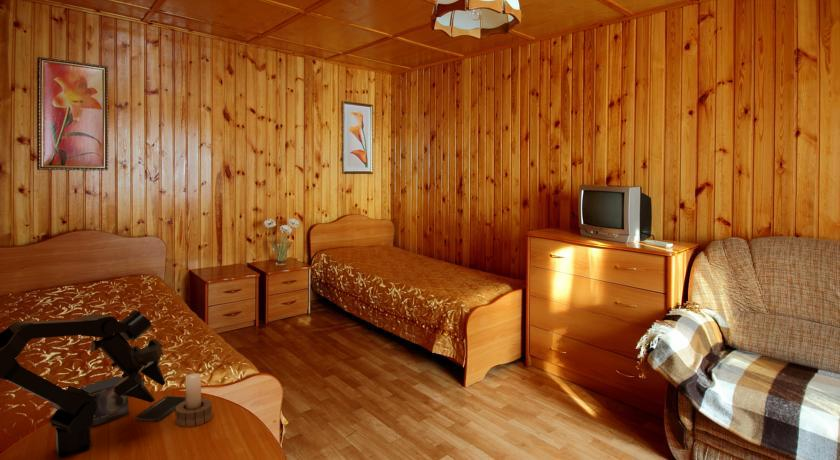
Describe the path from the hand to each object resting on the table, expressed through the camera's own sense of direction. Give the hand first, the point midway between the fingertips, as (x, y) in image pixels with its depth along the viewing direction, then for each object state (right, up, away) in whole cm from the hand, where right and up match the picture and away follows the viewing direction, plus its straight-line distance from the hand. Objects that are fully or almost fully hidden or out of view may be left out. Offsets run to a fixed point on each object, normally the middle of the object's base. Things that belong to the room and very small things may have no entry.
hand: (158, 392), depth 139 cm
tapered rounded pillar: (+8, -9, +4) cm, 13 cm away
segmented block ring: (+8, -9, +5) cm, 13 cm away
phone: (-4, -9, +10) cm, 14 cm away
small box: (-18, -9, +4) cm, 20 cm away
